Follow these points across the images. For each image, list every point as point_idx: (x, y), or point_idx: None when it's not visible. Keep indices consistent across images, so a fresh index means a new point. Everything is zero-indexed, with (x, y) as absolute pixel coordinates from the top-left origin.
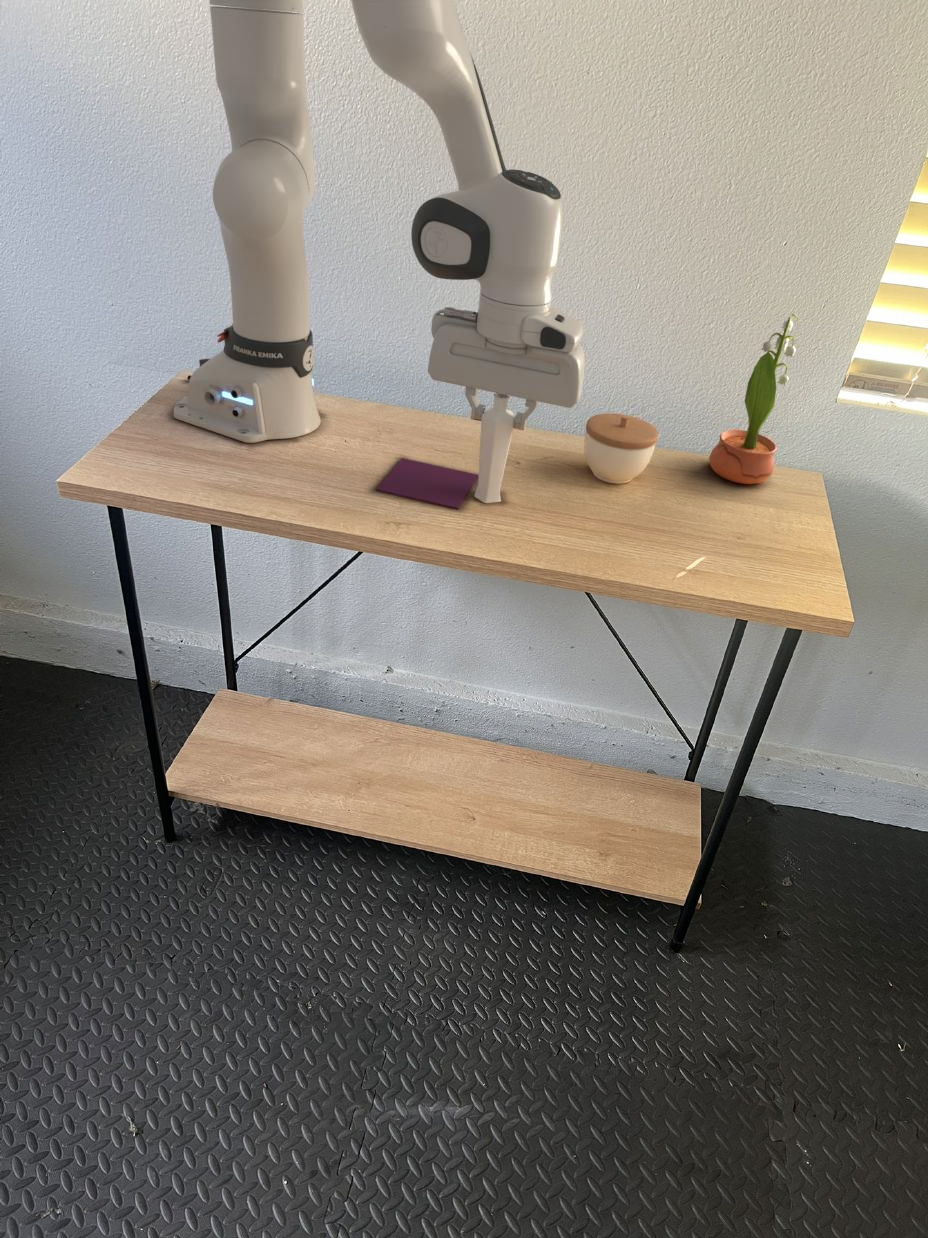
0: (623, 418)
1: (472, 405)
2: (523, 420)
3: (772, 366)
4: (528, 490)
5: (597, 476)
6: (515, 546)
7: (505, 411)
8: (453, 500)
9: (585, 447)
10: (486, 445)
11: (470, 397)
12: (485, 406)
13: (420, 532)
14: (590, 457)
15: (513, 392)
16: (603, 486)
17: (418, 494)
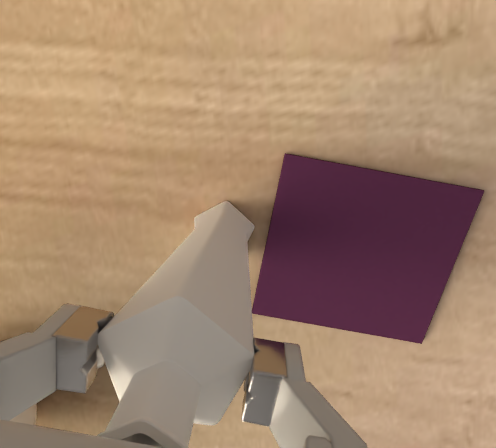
0: None
1: (305, 389)
2: (47, 328)
3: None
4: (143, 282)
5: None
6: (132, 7)
7: (135, 372)
8: (298, 185)
9: (15, 421)
10: (226, 267)
11: (328, 424)
12: (242, 414)
13: (368, 7)
14: None
15: (1, 445)
16: (2, 336)
17: (381, 191)
